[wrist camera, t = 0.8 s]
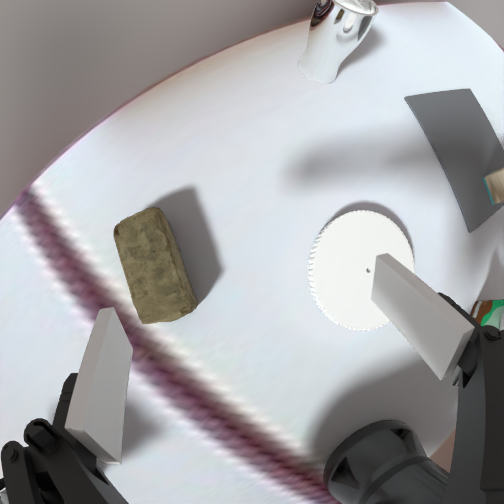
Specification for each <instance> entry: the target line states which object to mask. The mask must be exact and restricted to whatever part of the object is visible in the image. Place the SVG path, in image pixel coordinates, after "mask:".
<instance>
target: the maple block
mask: <svg viewBox="0 0 504 504" xmlns="http://www.w3.org/2000/svg"><path fill="white" fill-rule="evenodd" d="M482 179H483V182H484V184H485V187H486V189H487V192H488V194H489V197H490V200H491V203H492V205H493V204H496V203H500V202H503V201H504V167H503V168H501V169H499V170H496V171H494V172H492V173H490V174H489V175H487V176H485V177H484V178H482Z"/></svg>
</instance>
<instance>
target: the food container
mask: <svg viewBox="0 0 504 504" xmlns="http://www.w3.org/2000/svg"><path fill="white" fill-rule="evenodd" d="M470 316H471V317H472V318H473V319H474V320H476V321H477V322H478V323H479V324H480V325H481V326H484V325H492V326H495V327H496V328H498V329H499V330H504V299H503V300H488V301H476V302H475V304H474V306H473V308H472V311H471V314H470Z"/></svg>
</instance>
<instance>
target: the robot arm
mask: <svg viewBox="0 0 504 504" xmlns="http://www.w3.org/2000/svg"><path fill="white" fill-rule="evenodd" d="M371 300H372V301H373V302H374V303H375V304H376V305H377V306H378V308H379V309H380V310H381V311H382V312H383V313H384V314H385V315H386V317H387V318H388V319H389V320H390V321H391V322H392V323H393V324H394V326H395V327H396V328H397V329H398V330H399V331H400V332H401V334H402V335H403V336H404V337H405V338H406V339H407V341H408V342H409V343H410V344H411V345H412V346H413V348H414V349H415V350H416V351H417V352H418V354H419V355H420V356H421V357H422V358H423V360H424V361H425V362H426V363H427V364H428V366H429V367H430V368H431V369H432V370H433V372H434V373H435V374H436V375H437V377H438V378H439V379H440V380H443V379H445V378H446V377H448V376H450V375H451V374H453V372H454V370H455V368H456V366H457V364H458V365H459V367H460V368H461V369H460V371H459V373H458V375H457V376H456V378H455V380H454V382H453V385H454V386H455V384H456V382H457V381H458V379H459V384H458V386H459V390H458V412H457V425H456V435H455V444H454V451H453V458H452V464H451V470H450V473H448V472H447V471H445V470H444V469H443V468H441V467H440V466H438V465H437V464H436V463H434V462H433V461H432V460H431V459H429V458H428V457H427V455H426V453H425V451H424V449H423V447H422V445H421V443H420V441H419V439H418V437H417V435H416V433H415V432H414V431H413V430H412V429H411V428H409V427H408V426H407V425H405V424H404V423H402V422H400V421H396V420H385V421H380V422H376V423H373V424H371V425H368V426H366V427H364V428H362V429H360V430H359V431H357V432H356V433H354V434H353V435H351V436H350V437H349V438H347V439H346V440H345V441H344V442H343V443H342V444H341V445H340V446H339V447H338V448H337V449H336V450H335V451H334V453H333V454H332V455H331V457H330V458H329V460H328V462H327V464H326V466H325V469H324V474H323V479H324V483H325V486H326V488H327V489H328V491H329V493H330V494H331V495H332V496H333V497H334V498H335V499H336V500H338V501H339V502H341V503H342V504H504V330H499V329H498V328H496V327H495V326H492V325H484V326H481V325H480V324H479V323H478V322H477V321H476V320H474V319H473V318H472V317H471V316H470V315H469V314H468V313H467V312H466V311H464V310H463V309H461V307H460V306H459V305H458V304H456V303H455V302H454V301H453V300H452V299H451V298H450V297H448V296H446V295H444V294H442V293H440V292H439V293H436V292H435V291H434V290H433V289H432V288H430V287H429V286H428V285H427V284H426V283H424V282H423V281H422V280H421V279H420V278H418V277H417V276H416V275H415V274H414V273H412V272H411V271H410V270H409V269H407V268H406V267H405V266H404V265H402V264H401V263H400V262H399V261H397V260H396V259H395V258H394V257H392V256H391V255H390V254H388V253H385V254H381V255H377V256H376V262H375V271H374V279H373V287H372V294H371ZM132 352H133V348H132V346H131V344H130V342H129V340H128V338H127V336H126V334H125V331H124V329H123V327H122V325H121V323H120V320H119V318H118V316H117V314H116V311H115V309H114V307H111V308H105V309H100V310H99V313H98V316H97V318H96V321H95V324H94V327H93V329H92V332H91V335H90V338H89V341H88V344H87V347H86V350H85V353H84V356H83V360H82V363H81V366H80V369H79V373H71V374H70V375H69V377H68V378H67V379H66V381H65V382H64V385H63V388H62V392H61V393H62V394H61V395H60V398H59V402H58V406H57V409H56V413H55V417H54V421H53V425H51V424H50V423H49V422H48V421H47V420H45V419H42V418H37V419H35V420H32V421H31V422H30V423H29V424H28V425H27V426H26V428H25V430H24V441H25V442H26V443H27V444H28V445H29V446H28V447H23V446H22V445H21V444H20V443H18V442H16V441H9V442H8V443H6V444H5V445H4V447H3V448H2V451H1V463H2V470H3V476H4V482H5V487H6V492H7V497H8V501H9V504H129V503H128V502H127V501H126V500H125V499H124V498H123V497H122V495H121V494H120V493H119V492H118V491H117V490H116V488H115V487H114V486H113V485H112V483H111V482H110V481H109V480H108V478H107V477H106V476H105V475H104V473H103V472H102V471H101V469H100V468H99V467H98V466H97V465H96V458H98V459H99V460H100V461H102V462H103V463H108V464H121V454H122V438H123V425H124V414H125V404H126V395H127V387H128V379H129V372H130V365H131V359H132Z"/></svg>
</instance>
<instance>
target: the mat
mask: <svg viewBox="0 0 504 504" xmlns="http://www.w3.org/2000/svg"><path fill="white" fill-rule="evenodd" d="M404 99H405V101H406V102H407V104H408V105H409V107H410V108H411V110H412V112H413V113H414V115H415V117H416V118H417V120H418V122H419V123H420V125H421V127H422V128H423V130H424V132H425V134H426V136H427V137H428V139H429V141H430V143H431V145H432V147H433V149H434V151H435V153H436V155H437V156H438V159H439V161H440V163H441V165H442V167H443V169H444V171H445V173H446V175H447V177H448V180H449V182H450V184H451V186H452V189H453V191H454V194H455V196H456V198H457V201H458V203H459V206H460V208H461V211H462V214H463V216H464V219H465V222H466V225H467V227H468V230H469V232H472V231H473V230H475V229H476V228H477V227H478V226H479V225H481V224H482V223H483V222H484V221H486V220H487V219H488V218H489V217H490V216H491V215H493V214H494V213H495V212H496V211H497V210H498V209H500V208H501V207H502V206H503V205H504V201H503V202H500V203H496V204H493V205H492V203H491V200H490V197H489V194H488V192H487V189H486V187H485V184H484V182H483V179H482V178H484V177H485V176H487V175H489V174H490V173H492V172H494V171H496V170H499V169H501V168H503V167H504V150H503V148H502V146H501V144H500V142H499V140H498V138H497V136H496V134H495V132H494V130H493V128H492V126H491V124H490V122H489V120H488V118H487V117H486V115H485V113H484V111H483V109H482V108H481V106H480V104H479V103H478V101H477V99H476V98H475V96H474V94H473V93H472V91H471V90H470V89H459V90H450V91H441V92H433V93H426V94H419V95H413V96H407V97H405V98H404Z"/></svg>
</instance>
